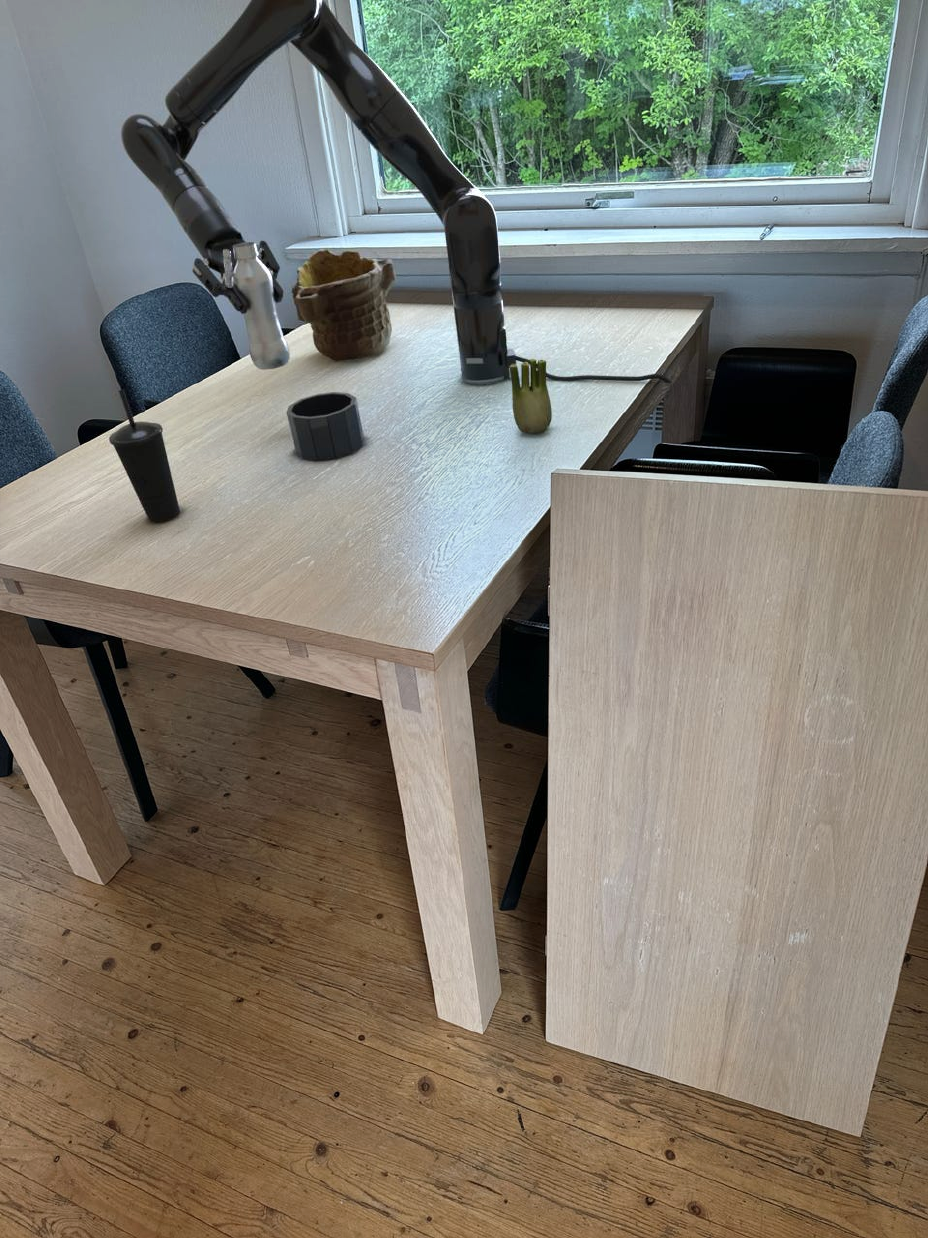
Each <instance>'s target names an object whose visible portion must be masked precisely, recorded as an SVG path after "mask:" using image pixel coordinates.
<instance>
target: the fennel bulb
mask: <svg viewBox="0 0 928 1238" xmlns="http://www.w3.org/2000/svg"><path fill="white" fill-rule="evenodd" d="M529 360H530V365H529V364H528V362H524V363H523V362H521V364H520V372H521V373H519V368H518V365H517V363H516V364H512V365H510V368H509V373H510V379H511V395H512V396H511V397H512V398H511V399H512V412H513V413H512V414H513V418H514V421H515V424H516V426H517V428H518V430H519V432H521V433H526V434H529V435H540V434H543V433H546V431H547V430H548V428H550V425H551V423H552V419H553V414H552V413H553V411H552V410H553V409H552V403H551V398H550V394H549V390H548V385H547V377H546V372H547V361H546V360H544V359H538V360H537V359H536V358H530V359H529ZM536 363H537V364H538V368H537V367H536V366H537V365H536ZM520 374H521V376H520ZM520 379H521V380H520Z"/></svg>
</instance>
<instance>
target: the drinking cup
mask: <svg viewBox="0 0 928 1238" xmlns="http://www.w3.org/2000/svg"><path fill="white" fill-rule="evenodd" d="M118 394H119V397H120V399H121V403H122V405H123V408H124V411H125V414H126V416H127V420H128V422H129V423H128V424H124V425H122V426H120V428H118V429H117V430H116V431H114V432H113V433H112V434H110V436H109V438H108V441H109V444H110V445H112V446H113V448H114V450H115V452H116V454H117V456H118V459H119V460H120V462H121V464H122V466H123V468H124V471H125V473H126V475H127V477H128V479H129V481H130V484H131V485H132V487H133V490H134V493H135V495H136V496H137V498H138V500H139V502H140V504H141V506H142V509H143V511H144V513H145V515H146V517H147V519H148V521H149V522H151V523H158V524H159V523H164V522H168V521H171V520H173V519H175V518H176V517H178V516H179V515H180V513H181V510H180V506H179V502H178V497H177V493H176V489H175V485H174V484H175V483H174V480H173V475H172V471H171V467H170V463H169V458H168V454H167V450H166V445H165V441H164V436H163V432H164V431H163V430H164V429H163V426H162V425H161V424H160V423H158V422H150V421H135V419H134V416H133V414H132V410H131V408H130V406H129V402H128V399H127V396H126V394H125V391H124V389H119V390H118Z"/></svg>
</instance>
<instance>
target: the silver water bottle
mask: <svg viewBox="0 0 928 1238" xmlns="http://www.w3.org/2000/svg"><path fill="white" fill-rule="evenodd" d="M256 245H257V243H256V242H255V241H245V243H239V244H236V245H233V251H234V258H235V259H237V264H236V266H235V268H234V271H233V275H232V280H233V287H234V288H235V287H236V288H237V289H238V291H239V292H240V294H241V295H242V296H243V298H244V299H245V301H246V302H247V304H248V310H247V313H244V314H243V316H244V317H243V318H244V321H245V325H246V331H247V336H248V342H249V343H248V348H249V349H248V350H249V356H250V359H251V361H252V364H253V365H254V366H255V367H256V368H257V369H258V370H276V369H278V368H282V367H284V366H286V365H288V364H289V361H290V359H291V355H290V348H289V345H288V342H287V340H286V337H285V336H284V332H283V330H282V326H281V323H280V320H279V317H278V311H277V307H276V302H275V300H274V290H273V283H272V282H273V280H272V275H271V273H270V272H269V270H268V269H267V267H266V266H265V265H264V264H263V263H262V262H261V261H260V260H259V259H258V257H257V256H258V255H259V253H258V251H257V247H256Z"/></svg>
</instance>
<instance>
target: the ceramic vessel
mask: <svg viewBox="0 0 928 1238" xmlns="http://www.w3.org/2000/svg"><path fill="white" fill-rule="evenodd" d="M392 260H393V259H390V258H387V259H376V258H371V259H369V258H367V257H366V256H365V257H362V256H361V255H360V252H359V251H355V250H354V251H353V250H346V251H343V252H341V254H336V253H335V252H332V251H330V250H329V249H328V248H321V249H318V250H316V251H314V252H312V253H311V254H310V256H309V257H308V258H307V260H305V262H303V264H302V265H300V267H298V268H296V273H297V275H296V276H297V277H296V283H295V284H293V285H291V294H292V299H293V301H294V302H293V303H294V306H295V309H296V315H297V319H298V321H301V322H304V323H306V324H309V325H310V327H311V330H312V340H313V344H314V348H315V349H316V350H317V351H318V352H319V353H320V354H321V355H322V356H324V357H326V358H328V359H329V360H331V361H334V362H342V361H352V360H357V359H362V358H363V359H364V358H367V357H373V356H378V355H379V354H381V353H383V352H384V350H385V349H386V347H387V346H388V345H389V344H390V341H391V336H392V333H393V328H392V322H391V314H390V310H389V306H388V304H387V301H386V297H387V295H388V293H389V292H390V290H391V289H393V287H394V286H395V284H396V281H397V276H396V272H395V267H394V261H392Z"/></svg>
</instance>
